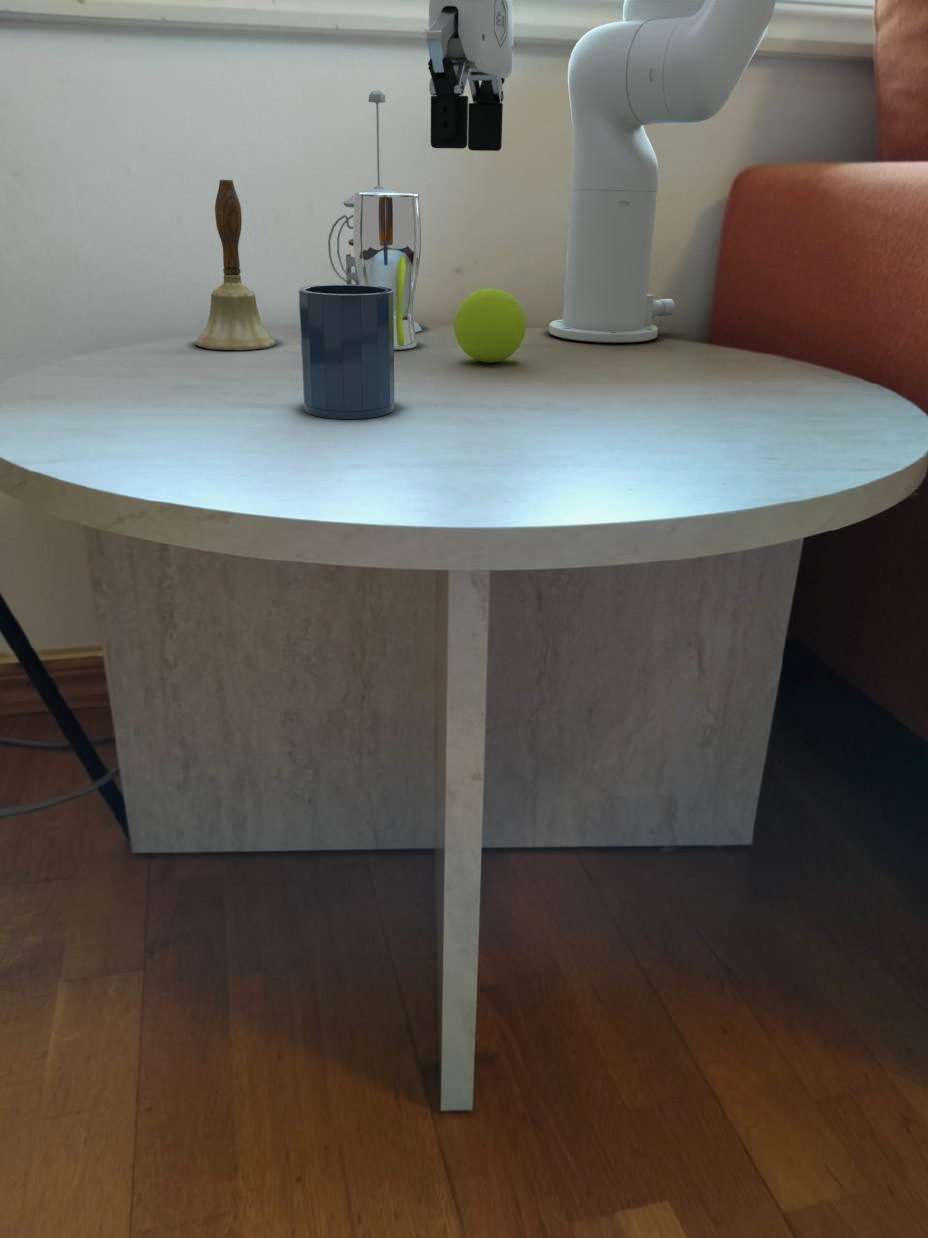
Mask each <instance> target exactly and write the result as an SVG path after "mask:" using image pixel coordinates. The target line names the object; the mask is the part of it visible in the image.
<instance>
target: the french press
mask: <svg viewBox="0 0 928 1238" xmlns="http://www.w3.org/2000/svg"><path fill="white" fill-rule="evenodd" d="M368 102H369V103H374V104H375V105H376V155H377V156H376V163H377V164H376V165H377V166H376V167H377V169H376V170H377V185H376V186H375V185H374V186H373V188H368V189H364V190H360V191H357V193H398V191H394V190H391V189H387V188H384V187H383V186H382V185H381V184H380V183H381V182H380V125H379V123H380V122H379V118H380V117H379V116H380V115H379V104H381V103H386V102H387V101H386V95H385V93H384V92H383V91H382V90H379V89H375V90H372V91H371V92H370V93H369V95H368ZM342 205H343V206H344V207H345V208H352V209H354V194H353V195H351V196H350V197H349V198H347V199H346V200H344V201H343V202H342ZM353 217H354V214H351V215H349V217H348V216H347V215H346V214H343V215H342V216H340V217H339V218H337V219H336V221H334V223H333V225H332V226H331V229H330V231H329V234H328V239H327V240H328V242H327V247H328V249H327V250H328V258H329V261H330V265H331V267H332V270H333V271H334V273H335V274H336V275H337V277H338V278H339V279H341V280H342V281H343V282H345V283H346V284H350V285H359V279H358V274H357V268H356V262H355V256H352V253H348V254H345V267H344V265H343V261H342V258H341V253H340V237H341V233H342V230H343V229H344V228H343V227H344V226H345V225H346V227H347V228H348V229H349V230H353V225H350V224H349V223H350V220H351V219H353ZM344 218H345V220H344V221H343V222H342V223H341V225H340V228H339V230H338V233H337V237H336V254H337V258H338V261H339V265H340V267H341V270H342V271H343V272H344V274H345V277H346V279H345V278H344V277H343V276H342V275H341V274H340V273H339V272H338V271H337V269H336V267H335V265H334V262H333V258H332V250H331V248H332V247H331V239H332V235H333V233H334V230H335V227H336V226H337V224H338V223H339V222H340V221H341V220H343V219H344ZM347 243H348V245H349V246H352V247H354V243H353V238H351V239H349V240H348V241H347ZM352 267H353V268H354V272H352ZM353 282H354V284H353ZM414 328H415V333H418V332H420V331H421V332H422V327H421V326H420V324H419V323H418V322H417V321H414Z"/></svg>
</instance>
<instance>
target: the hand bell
mask: <svg viewBox="0 0 928 1238" xmlns="http://www.w3.org/2000/svg"><path fill="white" fill-rule="evenodd" d="M214 204H215V205H214V216H215V217H214V218H215V224H216V225H215V226H216V229H217V233H218V236H219V239H220V241H221V242H220V243H221V245H222V261H223V263H222V264H223V269H222V270H223V271H222V272H223V282H222V284H221V285H219V286H218V287H217V288H215V289H213V290H212V291H211V293H210V309H209V315H208V320H207V323H206V325H205V327H204V329H203V331H201V333H200V334H199V336H198V337H197V338H196V340H195V345H196V346H198V347H200V348H204V349H208V350H209V349H210V350H217V351H218V350H220V351H252V350H261V349H268V348H272V347H274V346H275V345H276V343H277V342H276V340H275V338H274V337H273V336H272V335H271V334H270V333H269V332H268V330H267V329H266V327H265V325H264V323H263V321H262V319H261V317H260V312H259V309H258V305H257V300H256V298H257V297H256V294H255V292H254V291H253V290H252V289H250V288H248V287H246V286H245V285H244V284H243V282H242V278H241V273H242V272H241V268H240V254H239V243H240V239H241V234H242V225H243V224H242V222H243V221H242V220H243V218H242V217H243V216H242V215H243V214H242V207H241V203H240V199H239V196H238V194H237V191H236V188H235V185H234V181H233V179H219V183H218V189H217V193H216V198H215V203H214Z"/></svg>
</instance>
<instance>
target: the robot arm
mask: <svg viewBox="0 0 928 1238" xmlns="http://www.w3.org/2000/svg"><path fill="white" fill-rule="evenodd" d="M776 1H777V0H624V2H623V7H622V21H615V22H610V23H605V24H602V25H598V26H596V27H594V28H592V29H590V30H589V31H587V32H586V33H584V35H582V36H581V37H580V39H579V40H578V41H577V42H576V44H575V46H573V47H574V48H573V49H572V51H571V53H570V57H569V61H568V67H567V88H568V89H567V90H568V96H569V106H570V107H569V108H570V114H571V115H570V116H571V128H572V129H571V131H572V132H571V133H572V156H571V157H572V161H571V164H572V165H571V177H570V178H571V182H570V193H569V195H570V196H569V209H568V213H569V214H568V227H567V229H568V231H567V245H566V246H567V247H566V260H565V277H564V291H563V293H564V294H563V309H562V310H563V311H562V319H556V320H552V321H551V322H549V325H548V332H549V334H550V335H552V336H554V337H557V338H561V339H565V340H571V341H580V342H590V343H609V344H611V343H613V344H616V343H618V344H619V343H620V344H621V343H639V342H640V343H641V342H647V341H653V340H654V339H656V338H657V337H658V334H659V333H658V331H659V328H658V326H657V325H655V324H652V320H653V319H655V318H656V317H665V316H667V317H668V316H672V315H673V314H674V313H675V311H676V302H675V301H674V299H672V298H659V299H657V300H656V299H655V297H654V296H655V295H654V294H650V293H649V294H648V292H649V283H650V272H651V262H652V261H651V259H652V250H653V239H654V229H655V219H656V218H655V217H656V210H657V209H656V208H657V196H658V191H659V178H660V175H659V174H660V173H659V163H658V158H657V155H656V153H655V150H654V147H653V146H652V143H651V141H650V139H649V137H648V135H647V132H646V130H645V128H644V126H648V125H684V124H685V125H687V124H688V125H689V124H698V123H702V122H703V123H704V122H706V121H708V120H710V119H712V118H713V117H715V116H716V115H717V114H718V113H720V111H721V110H722V109H723V107H724V106H725V105H726V104H727V102H728V100H729V99H730V97H731V96H732V94H733V92H734V90H735V89H736V87H737V85H738V84H739V81H740V80H741V78H742V77H743V74H744V73H745V72H746V70H747V67H748V66H749V64H750V62H751V60H752V59H753V57H754V55H755V53H756V52H757V50H758V48H759V46H760V45H761V43H762V41H763V40H764V37H765V35H766V33H767V31H768V28H769V26H770V24H771V20H772V17H773V15H774V9H775V6H776ZM426 41H427V47H428V48H427V49H428V54H429V59H428V62H427V66H428V67H427V69H428V71H429V73H430V74H429V75H430V76H431V77H430V80H429V84H428V85H429V87H428V89H429V94H430V146H431V147H432V148H433V149H458V150H459V149H460V150H461V149H466V148H467V149H468V150H469V151H476V152H478V151H479V152H484V151H485V152H499V151H501V149H502V146H503V145H502V144H503V143H502V141H503V109H504V98H505V95H504V88H503V86H504V84H505V82H506V81H505V80H506V79H508V78H509V77H510V76H511V74H512V73H513V71H514V0H428V30H427V32H426ZM480 81H481V82H480ZM467 83H468V85H469V89H470V95H471V99H472V102H469V96H468V95H464V94H465V90H466V86H467Z"/></svg>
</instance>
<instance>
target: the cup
mask: <svg viewBox="0 0 928 1238" xmlns="http://www.w3.org/2000/svg"><path fill="white" fill-rule="evenodd" d="M297 292H298V307H299V308H298V310H299V331H300V351H301V353H300V355H301V369H302V370H301V373H302V374H301V375H302V376H301V377H302V395H303V397H302V399H303V410H304V411H305V412H306V413H307V414H308V415H311V416H315V417H319V418H325V419H334V420H335V419H336V420H361V419H372V418H378V417H383V416H386V415H389V414H391V413H392V412H393V411H394V410H395V409H394V408H395V404H394V403H395V350H394V304H393V290H392V289H390V288H386V287H381V286H371V285H356V284H354V285H350V284H347V283H346V284H342V283H341V284H339V283H337V284H335V283H334V284H315V285H305V286H303V287H299V288H298V291H297Z"/></svg>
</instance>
